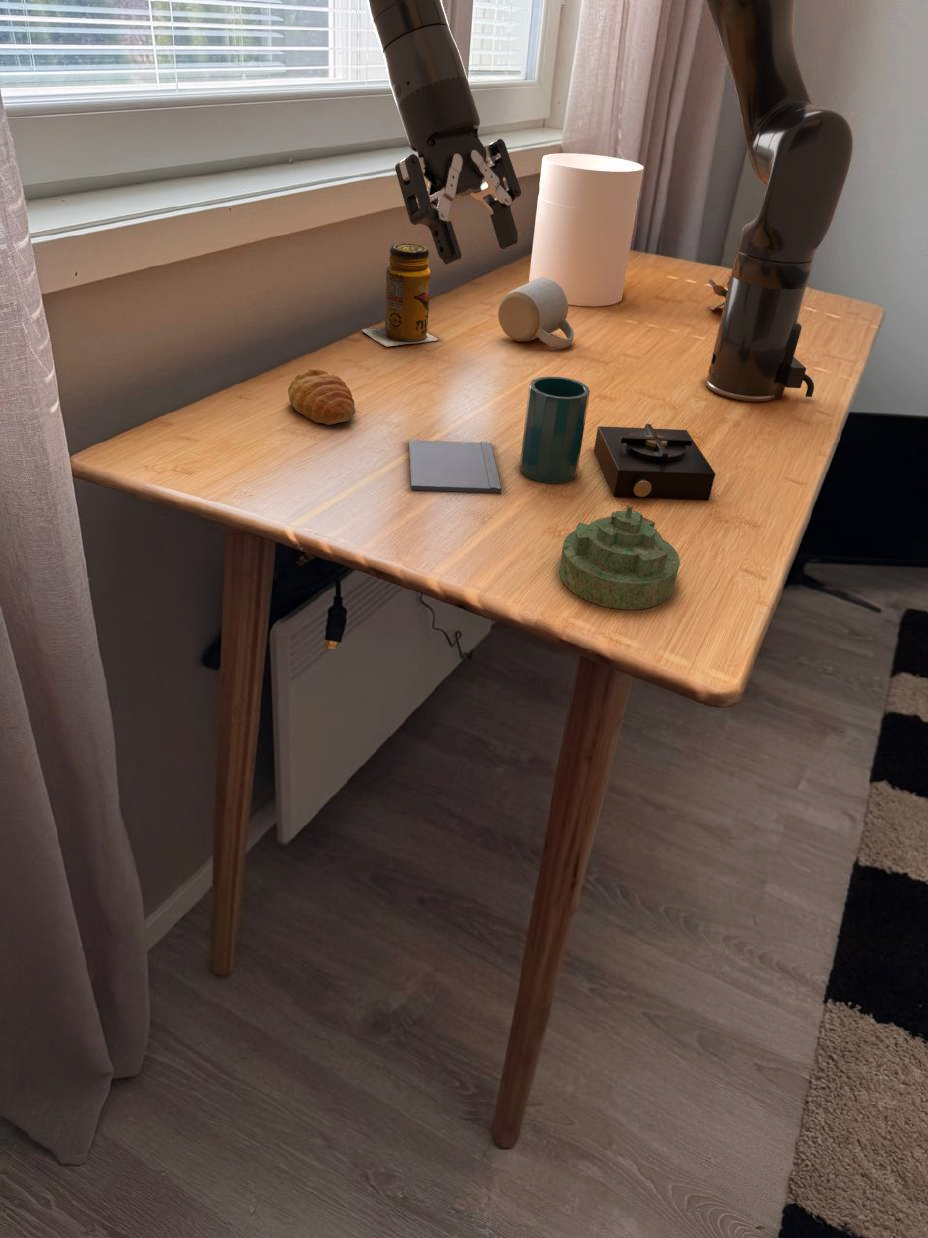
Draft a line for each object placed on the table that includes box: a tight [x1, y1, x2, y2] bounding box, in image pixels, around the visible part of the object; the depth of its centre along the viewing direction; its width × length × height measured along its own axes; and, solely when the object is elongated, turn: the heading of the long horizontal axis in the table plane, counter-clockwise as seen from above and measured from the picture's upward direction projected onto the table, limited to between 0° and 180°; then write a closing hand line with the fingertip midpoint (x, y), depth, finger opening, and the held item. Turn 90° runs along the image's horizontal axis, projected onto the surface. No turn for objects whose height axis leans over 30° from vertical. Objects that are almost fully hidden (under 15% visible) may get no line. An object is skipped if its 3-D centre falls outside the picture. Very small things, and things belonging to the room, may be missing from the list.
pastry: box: [287, 368, 356, 426], centre depth 105 cm, size 9×7×4 cm
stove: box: [593, 423, 716, 501], centre depth 97 cm, size 10×12×4 cm
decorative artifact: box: [558, 504, 681, 611], centre depth 79 cm, size 10×7×10 cm
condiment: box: [361, 242, 439, 347], centre depth 127 cm, size 7×8×12 cm
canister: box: [528, 152, 645, 307], centre depth 151 cm, size 16×16×20 cm
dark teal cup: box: [519, 376, 591, 484], centre depth 95 cm, size 6×6×9 cm
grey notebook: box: [408, 439, 502, 494], centre depth 97 cm, size 9×11×1 cm
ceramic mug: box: [497, 278, 575, 350], centre depth 132 cm, size 11×8×8 cm
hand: (482, 253), depth 97 cm, fingers open, 8 cm apart
